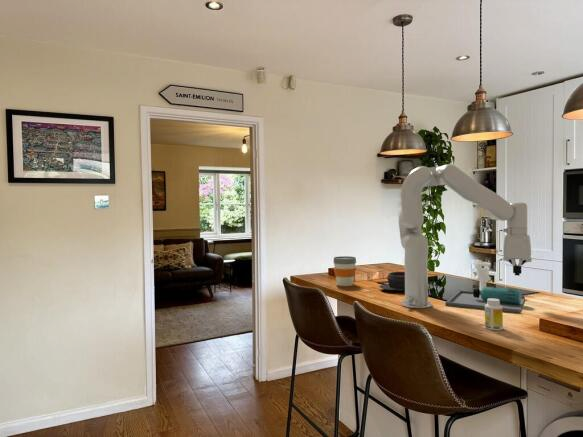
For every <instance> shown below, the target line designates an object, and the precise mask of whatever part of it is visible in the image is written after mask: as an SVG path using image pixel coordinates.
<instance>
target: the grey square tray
mask: <svg viewBox="0 0 583 437" xmlns="http://www.w3.org/2000/svg"><path fill="white" fill-rule="evenodd" d="M525 296H526V295H521V304H520V305H517V304H509V303H501V302H500V305H501V306H502V313H512V314H520V313H521V310H522V308H523V305H524V302H525ZM486 304H487V301H484V300H483V299H482V298H481V291H480V296H479V298H476V297H474V296H473V291H470V290H461V289H460V290H458V291H456V292H455V293H454V294H453V295H452V296H450V297H449V299H448V300H446V301H445V306H447V307H454V308H455V307H457V308H464V309H465V308H466V309H475V310H483V311H485V305H486Z"/></svg>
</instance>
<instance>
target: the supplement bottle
mask: <svg viewBox="0 0 583 437" xmlns="http://www.w3.org/2000/svg"><path fill="white" fill-rule="evenodd" d="M503 313H504V312H502V306H501V305H500V300H499V299H494V298H489V299H487V304H486V305H485V310H484V327H485V329H487V330H490V331H501V330H503V328H504V327H503V326H504V325H503Z"/></svg>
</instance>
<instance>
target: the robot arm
mask: <svg viewBox="0 0 583 437" xmlns="http://www.w3.org/2000/svg"><path fill="white" fill-rule="evenodd" d="M444 185H446V187H448V188H449V189H451V190H453V191H454V192H455V193H456V194H458V196H460V197H462V198H463V200H467V201H469V202H471V203H474V204H477V205H479V206H481V207H482V208H483V209H485V215H486V216H487V218H489V219H490V220H493V221H502V222H503V221H506V228H503V229H502V230H503V231H502V232H503V233H506V234H505V235H504V239H503V252H502V253H503V254H502V255H503V256H502V257H503V258H502V261H505V262H508V263H510V264H511V266H512V273H513V274H514V276H520V274H522V266H523V265H524V264H526V263H532V261H533V260H532V244H531V237H530V234H529V235H528V205H527V203H525V202H508V200H506V199H505V198H504V197H502V196H501V195H499V194H497V193H496V192H494V191H493V190H492V189H489V188H487V187H486V186H485V185H483V184H480V183H479V182H478V181H476V180H475V179H473V178H472V177H471V176H470V175H468V174H466V173H465V172H464V171H463V170H461V169H460V168H459V167H457V166H456V165H454V164H451V163H447V164H444V165H440V166H431V167H428V166H424V165H421V166H417V167H416V168H415V167H414V169H412V170H411V171H410V172H409V174H408V175H407V176H406V177H405V178H404V180H403V182H402V185H401V189H400V201H401V202H400V203H401V204H400V205H401V206H400V207H401V211H400V213H399V215H398V228H399V229H398V230H399V238H400V243H401V247H402V248H403V249H404V272H405V292H404V300H402V301H401V305H402V306H403V307H405V308H410V309H427V308H431V307H432V306H433V305H432V304H433V303H432V302H431V301H429V285H428V283H429V281H428V279H429V276H428V271H429V270H428V256H429V242H428V239H427V237H426V236H425V235H424V234H422V226H423V224H424V221H425V219H424V218H425V217H424V212H423V211H424V210H423V203H422V192H423V189H424V188H425V187H435V186H436V187H437V186H444ZM516 260H519V261H518V264H517V262H516Z"/></svg>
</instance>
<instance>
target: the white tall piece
mask: <svg viewBox="0 0 583 437" xmlns="http://www.w3.org/2000/svg"><path fill="white" fill-rule="evenodd" d="M474 267H475V268H476V276H475V277H474V280H475V281H479V282H478V283H479V289H480V292H481V290H482V288H484V287H487V282H488V281H491V278H492V277H490V269H489V268H490V267H491V262H489V261H482V260H481V259H480V260H479V259H476V260H475V262H474ZM482 267H483V268H482Z"/></svg>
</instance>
